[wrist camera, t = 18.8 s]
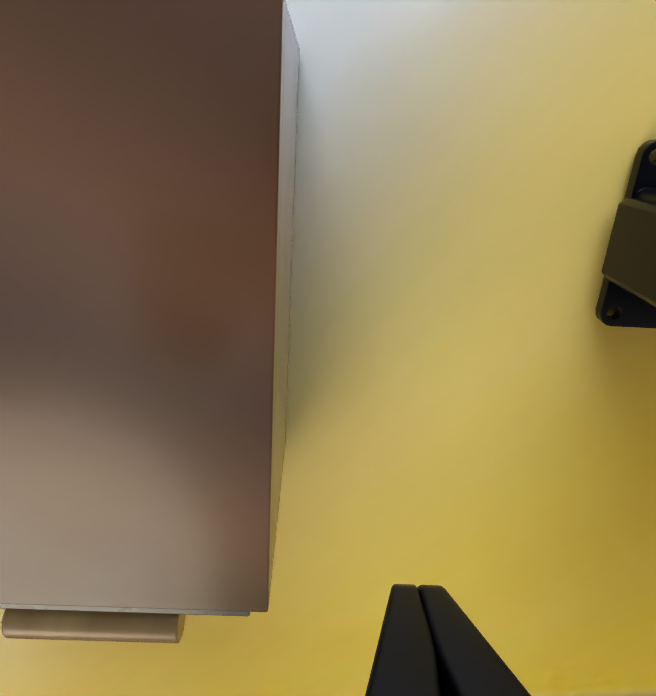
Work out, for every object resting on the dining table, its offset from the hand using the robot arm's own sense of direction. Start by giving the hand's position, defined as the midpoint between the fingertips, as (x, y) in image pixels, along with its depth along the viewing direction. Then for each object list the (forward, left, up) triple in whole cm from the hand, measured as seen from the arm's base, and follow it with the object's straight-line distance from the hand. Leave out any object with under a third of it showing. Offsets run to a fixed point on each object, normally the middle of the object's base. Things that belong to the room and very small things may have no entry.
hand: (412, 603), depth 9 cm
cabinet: (+9, -2, -13) cm, 16 cm away
